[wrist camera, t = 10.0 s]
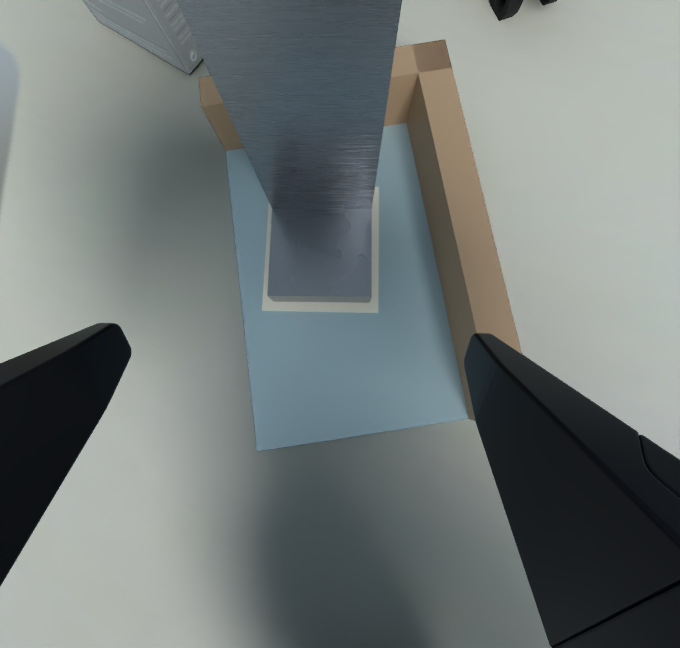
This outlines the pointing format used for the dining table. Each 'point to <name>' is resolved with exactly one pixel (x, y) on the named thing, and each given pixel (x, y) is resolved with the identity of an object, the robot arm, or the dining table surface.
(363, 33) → the grey tall post
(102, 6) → the skincare box
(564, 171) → the dining table surface
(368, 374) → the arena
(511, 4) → the decorative element
